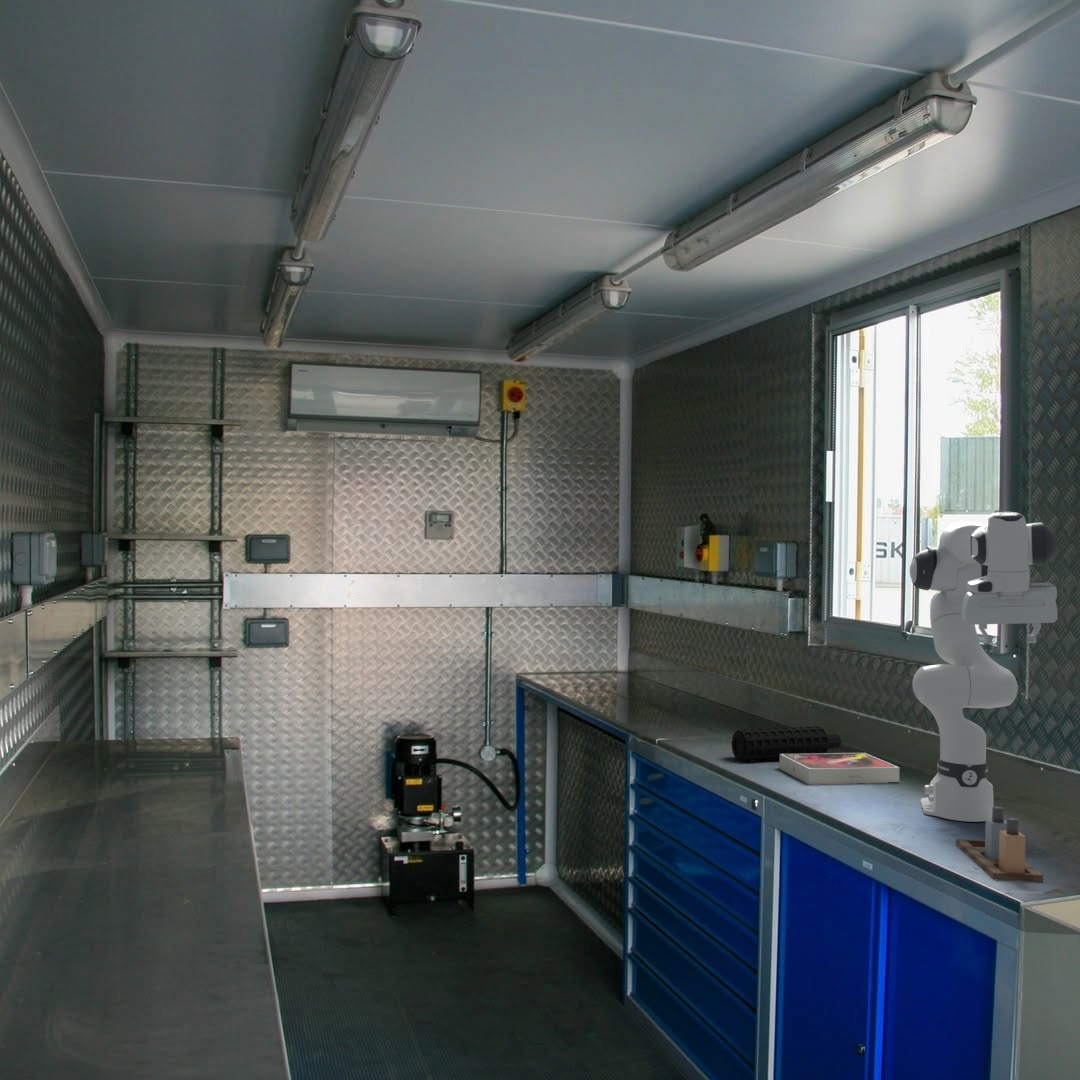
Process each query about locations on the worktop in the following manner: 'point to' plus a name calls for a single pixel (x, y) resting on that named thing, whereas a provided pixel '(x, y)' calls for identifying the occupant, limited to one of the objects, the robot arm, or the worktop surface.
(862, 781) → the product packaging
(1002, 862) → the terracotta plug
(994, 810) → the slate plug
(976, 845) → the plug dock
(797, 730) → the roller
